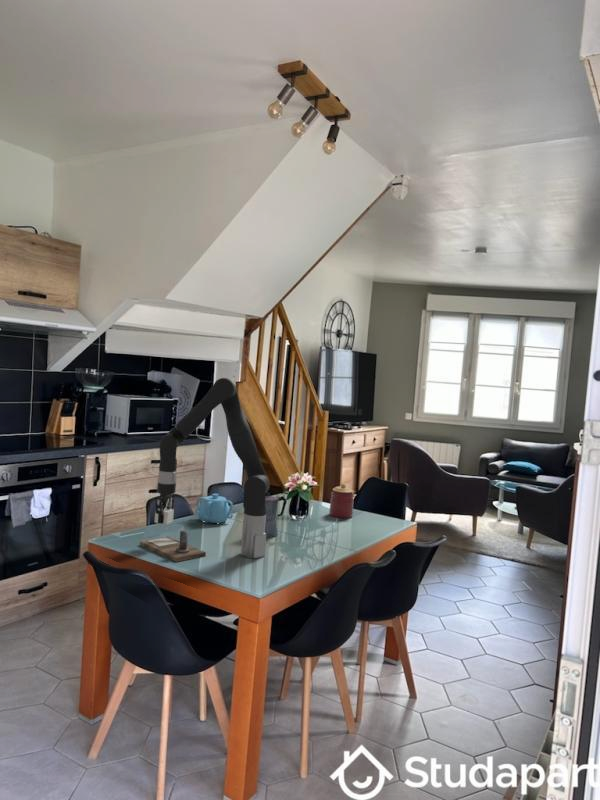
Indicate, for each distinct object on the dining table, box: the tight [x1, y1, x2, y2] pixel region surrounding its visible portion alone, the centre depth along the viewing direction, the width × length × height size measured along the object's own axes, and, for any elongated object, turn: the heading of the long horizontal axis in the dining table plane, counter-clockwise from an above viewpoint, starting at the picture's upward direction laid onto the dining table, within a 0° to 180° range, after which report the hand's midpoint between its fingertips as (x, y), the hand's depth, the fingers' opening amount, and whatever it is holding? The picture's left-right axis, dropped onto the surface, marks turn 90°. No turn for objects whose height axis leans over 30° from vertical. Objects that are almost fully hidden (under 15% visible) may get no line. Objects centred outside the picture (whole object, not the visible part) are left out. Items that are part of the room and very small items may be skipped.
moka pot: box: [265, 491, 287, 538], centre depth 282 cm, size 10×15×20 cm, turn 117°
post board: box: [139, 530, 207, 563], centre depth 248 cm, size 26×14×10 cm, turn 47°
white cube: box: [154, 508, 175, 525], centre depth 252 cm, size 6×6×5 cm
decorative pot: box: [194, 493, 234, 523], centre depth 299 cm, size 16×16×14 cm
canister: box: [328, 483, 355, 519], centre depth 333 cm, size 13×13×18 cm
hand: (163, 521), depth 253 cm, fingers closed on white cube, 5 cm apart
